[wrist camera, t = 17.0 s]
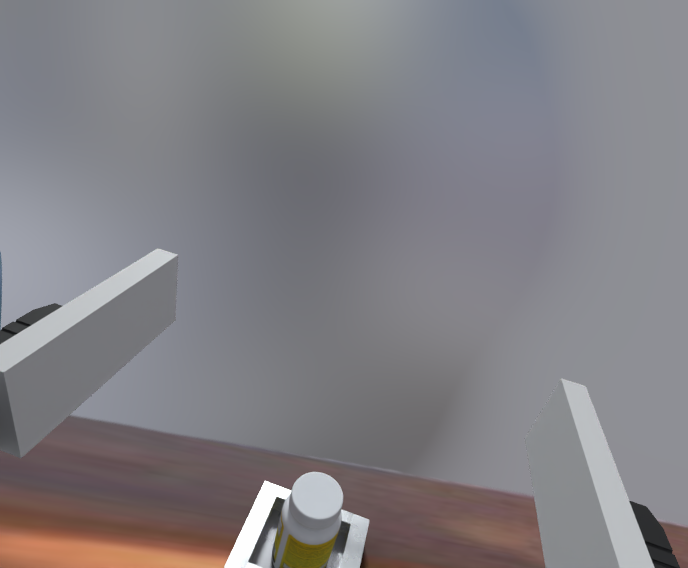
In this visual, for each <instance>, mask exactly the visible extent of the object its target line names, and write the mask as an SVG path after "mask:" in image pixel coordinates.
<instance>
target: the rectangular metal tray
mask: <svg viewBox="0 0 688 568" xmlns="http://www.w3.org/2000/svg"><path fill="white" fill-rule="evenodd" d="M290 493H291V490H288V489H285V488H283V487H280V486H277V485H275V484H272V483H269V482H267V481H265V482H264V484H263V486H262V488H261V491H260V493H259V495H258V497H257V499H256V501H255V503H254V505H253V507H252V510H251V512H250V514H249V516H248V518H247V520H246V522H245V524H244V526H243V529H242V531H241V533H240V535H239V537H238V539H237V541H236V543H235V545H234V548H233V550H232V552H231V554H230V556H229V558H228V560H227V562H226V564H225V567H224V568H275V567H274V565H273V561H272V550H273V545H274V541H275V536H276V532H277V528H278V524H279V520H280V516H281V511H282V507H283V504H284V502H285V500H286V498H287V497H288V495H289V494H290ZM341 514H342V520H341V526H340V529H339V532H338V535H337V538H336V540H335V543H334V546H333V549H332V552H331V555H330V557H329V560H328V564H327V566H326V568H360V564H361V559H362V554H363V549H364V544H365V539H366V534H367V529H368V525H369V519H366V518H363V517H360V516H358V515H355V514H352V513H350V512H347V511H344V510H342V509H341Z"/></svg>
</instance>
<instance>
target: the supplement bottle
mask: <svg viewBox="0 0 688 568" xmlns="http://www.w3.org/2000/svg"><path fill="white" fill-rule="evenodd" d="M342 504H343V493H342V490H341V488H340V486H339V484H338V483H337V482H336V481H335V480H334V479H333V478H332V477H330V476H329V475H327V474H324V473H320V472H310V473H307V474H304V475H302V476H301V477H300V478H298V479H297V481H296V482H295V483H294V485H293V488H292V491H291V493H290V494H289V495H288V497H287V498H286V500H285V502H284V504H283V507H282V511H281V516H280V520H279V524H278V528H277V532H276V536H275V541H274V545H273V550H272V561H273V565H274V567H275V568H326V566H327V564H328V560H329V557H330V555H331V552H332V549H333V546H334V543H335V540H336V538H337V535H338V532H339V529H340V526H341V520H342V514H341V508H342Z"/></svg>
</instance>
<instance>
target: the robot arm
mask: <svg viewBox="0 0 688 568" xmlns="http://www.w3.org/2000/svg"><path fill="white" fill-rule="evenodd" d="M177 267H178V255H177V254H173V253H171V252H167V251H164V250H161V249H156V250H154V251H153V252H151V253H149V254H148V255H146V256H144V257H143V258H141V259H140V260H138V261H136V262H135V263H133V264H131V265H130V266H128V267H126V268H125V269H123V270H121V271H120V272H118V273H117V274H115V275H113V276H112V277H110V278H108V279H107V280H105V281H103V282H102V283H100V284H98V285H97V286H95V287H93V288H92V289H90V290H89V291H87V292H85V293H84V294H82V295H80V296H79V297H77V298H75V299H74V300H72V301H70V302H69V303H67V304H66V305H64V306H61V305H58V304H51V305H48V306H45V307H42V308H38V309H35V310H32V311H31V312H29V313H27V314H25V315H24V316H22V317H20V318H19V319H17V320H16V322H12V323H10V324H8V325H6V326H5V327H3V328H2V330H0V450H1V451H4V452H6V453H9V454H12V455H14V456H17V457H19V458H22V457H23V456H24V455H25V454H26V453H27V452H29V451H30V450H31V449H32V448H33V447H34V446H35V445H36V444H38V443H39V442H40V441H41V440H42V439H43V438H44V437H45V436H46V435H48V434H49V433H50V432H51V431H52V430H53V429H54V428H55V427H57V426H58V425H59V424H60V423H61V422H62V421H63V420H64V419H65V418H67V417H68V416H69V415H70V414H71V413H72V412H73V411H74V410H76V409H77V408H78V407H79V406H80V405H81V404H82V403H83V402H84V401H85V400H87V399H88V398H89V397H90V396H91V395H92V394H93V393H94V392H96V391H97V390H98V389H99V388H100V387H101V386H102V385H103V384H105V383H106V382H107V381H108V380H109V379H110V378H111V377H112V376H113V375H115V374H116V373H117V372H118V371H119V370H120V369H121V368H122V367H124V366H125V365H126V364H127V363H128V362H129V361H130V360H131V359H132V358H134V356H136V355H137V354H138V353H139V352H140V351H141V350H142V349H144V348H145V347H146V346H147V345H148V344H149V343H150V342H151V341H152V340H154V339H155V338H156V337H157V336H158V335H159V334H160V333H162V332H163V331H164V330H165V329H166V328H167V327H168V326H169V325H171V324H172V323H173V322H174V321H175V318H176V317H175V316H176V293H177V269H178V268H177ZM1 304H2V262H1V253H0V327H1ZM525 444H526V450H527V456H528V462H529V468H530V474H531V480H532V487H533V493H534V499H535V505H536V511H537V517H538V523H539V530H540V536H541V542H542V548H543V554H544V560H545V566H546V568H680V567H679V564H678V562H677V560H676V557H675V555H673V554H672V551H673V550H672V548H671V546H670V543H669V541H668V539H667V536H666V534H665V532H664V529H663V528H662V526H661V525H660V524H659V522H658V521H657V520H656V518H655V517H654V516H653V515H652V513H651V512H650V511H649V509H648V508H647V507H646V506H643V505H640V504H637V503H634V502H631V501H629V499H628V497H627V494H626V491H625V489H624V486H623V483H622V481H621V478H620V475H619V473H618V470H617V468H616V465H615V462H614V460H613V457H612V454H611V452H610V449H609V446H608V444H607V441H606V438H605V436H604V433H603V431H602V428H601V425H600V423H599V420H598V418H597V415H596V412H595V409H594V407H593V404H592V402H591V399H590V396H589V394H588V391H587V388H586V386H584V385H580V384H577V383H574V382H571V381H568V380H565V379H562V378H561V379H560V381H559V383H558V384H557V386H556V387H555V389H554V391H553V393H552V394H551V396H550V397H549V399H548V401H547V402H546V404H545V406H544V407H543V409H542V411H541V412H540V414H539V416H538V417H537V419H536V421H535V422H534V424H533V426H532V427H531V429H530V431H529V432H528V434H527V436H526V437H525Z"/></svg>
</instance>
